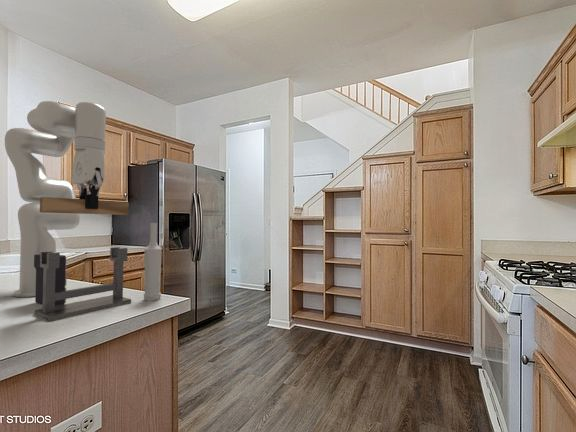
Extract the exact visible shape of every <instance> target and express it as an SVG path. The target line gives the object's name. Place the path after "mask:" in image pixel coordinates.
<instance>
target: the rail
mask: <svg viewBox="0 0 576 432" xmlns="http://www.w3.org/2000/svg"><path fill="white" fill-rule="evenodd" d="M129 206H130V202H128V201H114V200H113V201H112V200H101V199H98V209H86V208H85V199H79V198H76V199H69V198H53V197H40V212H42V213H78V214H79V215H80V214H84V215H85V214H86V215H87V214H88V215H115V216H116V215H117V216H118V215H120V216H125V215H126V216H129Z"/></svg>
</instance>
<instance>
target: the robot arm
mask: <svg viewBox="0 0 576 432" xmlns="http://www.w3.org/2000/svg"><path fill="white" fill-rule="evenodd" d="M26 120H27V124H28V125H29V126H30V127H31V128H32V129H29V128H22V127H13V128H9V129H8V130H7V131H6V132H5V135H4V147H5V152H6V154H7V157H8V159H9V160H10V162H11V164H12V166H13V168H14V171H15V176H16V182H17V186H18V187H17V188H18V193H19V196H20V198H21V200H22V201H25V202H28V203H25V204H23V205H21V206H20V207H19V209H18V210H17V220H18V225H19V232H20V253H19V254H20V259H19V289H17V290H14V291H13V294H12V296H13V297H18V298H28V297H31V298H32V297H35V293H36V269H35V267H34V255H36V254H40V252H50V251H52V252H53V253H57V251H56V249H57V244H56V240H55V238H54V237H53V236H52V234H51V233H50V232H49V231H52V230H55V231H56V230H58V231H61V230H73V229H75V228H77V227H78V226H79V224H80V219H81V216H80V214H78V213H42V212H40V197H53V198H69V199H77V197H76V191H75V189H74V186H73V185H76V188H77V189H78V197H79V198H78V199H85V208H86V209H98V200H99V196H100V190H101V187H102V186H103V183H104V182H105V177H106V175H105V174H106V173H105V172H106V171H105V170H106V168H105V167H106V166H105V154H106V130H107V129H106V127H107V124H106V123H107V113H106V109H105V108H104V107H103V106H101V105H99V104H97V103H93V102H88V101H86V102H85V101H81V102H77V104H76V105H75V107H74V106H71V105H68V104H64V103H60V102H57V101H49V100H47V101H45V100H42V101H40V102H39V103H38V104H37V106H36V107H35V108H33V109H31V110H30V111H29V112H28V113H27V115H26ZM33 129H34V130H33ZM73 143H74V151H75V152H74V157H73V164H72V174H71V175H72V176H71V183H72V184H73V185H72V184H71V183H70V182H69V181H68V180H65V179H60V178H59V179H58V178H51V177H48V175H47V172H46V171H47V170H46V168H45V166H44V164H43V163H42V161H40V160H39V158H37V157H35V156H34V155H33V154H36V155H41V156H47V157H51V158H52V157H54V158H61V157H64V156H65V155H66V153H67V152H68V150H69V149H70V147H71V146H72V145H73Z"/></svg>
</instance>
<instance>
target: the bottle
mask: <svg viewBox="0 0 576 432" xmlns="http://www.w3.org/2000/svg"><path fill="white" fill-rule="evenodd" d="M149 227H150V228H149V229H150V232H149V243H148V246H146V248H144V293H143V300H144V301H146V302H154V301H159V300H160V299H161V297H162V296H161V295H162V292H161V273H162V270H161V269H162V253H163V251H162V247H161V246H160V245H159V244H158V242H157V241H158V240H157V239H158V237H157V236H158V235H157V233H158V232H157V230H158V222H150V223H149Z"/></svg>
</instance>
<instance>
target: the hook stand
mask: <svg viewBox="0 0 576 432" xmlns="http://www.w3.org/2000/svg"><path fill="white" fill-rule="evenodd" d="M109 249H110V251H109V254H110V257H109V260H110V261H113V271H112V272H113V273H112V274H113V277H112V278H113V281H112V282H111V283H110V282H109V283H104V284H97V285H92V286H86V287H79V288H74V289H73V288H72V289H66V291H60V292H55V274H56V268H59V263H60V255H61V252H56V253H53V252H52V251H50V252H40V267H42V268H44V269H43V305H41V307H42V308H39V309H34V310H33V311H34V312H33V314H34V316H36V317H38V318H40V319H42V320H45V321H47V322H53V321H57V320H63V319H66V318H71V317H76V316H80V315H85V314H89V313H93V312H97V311H102V310H106V309H110V308H111V309H112V308H115V307H120V306H123V305H129V304H131V303H132V299H131V298H128V297H125V296H124V262H127V261H128V247H122V248H121V247H120V246H119V247H118V246H117V247H110V248H109ZM105 292H106V293H107V292H112V295H106V296H101V297H96V298H91V299H85V300H80V301H74V302H70V303H65V304H64V305H58V306H55V301H57V300H63V299H66V300H68V299H73V298H79V297H84V296H91V295H95V294H101V293H105Z"/></svg>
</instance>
